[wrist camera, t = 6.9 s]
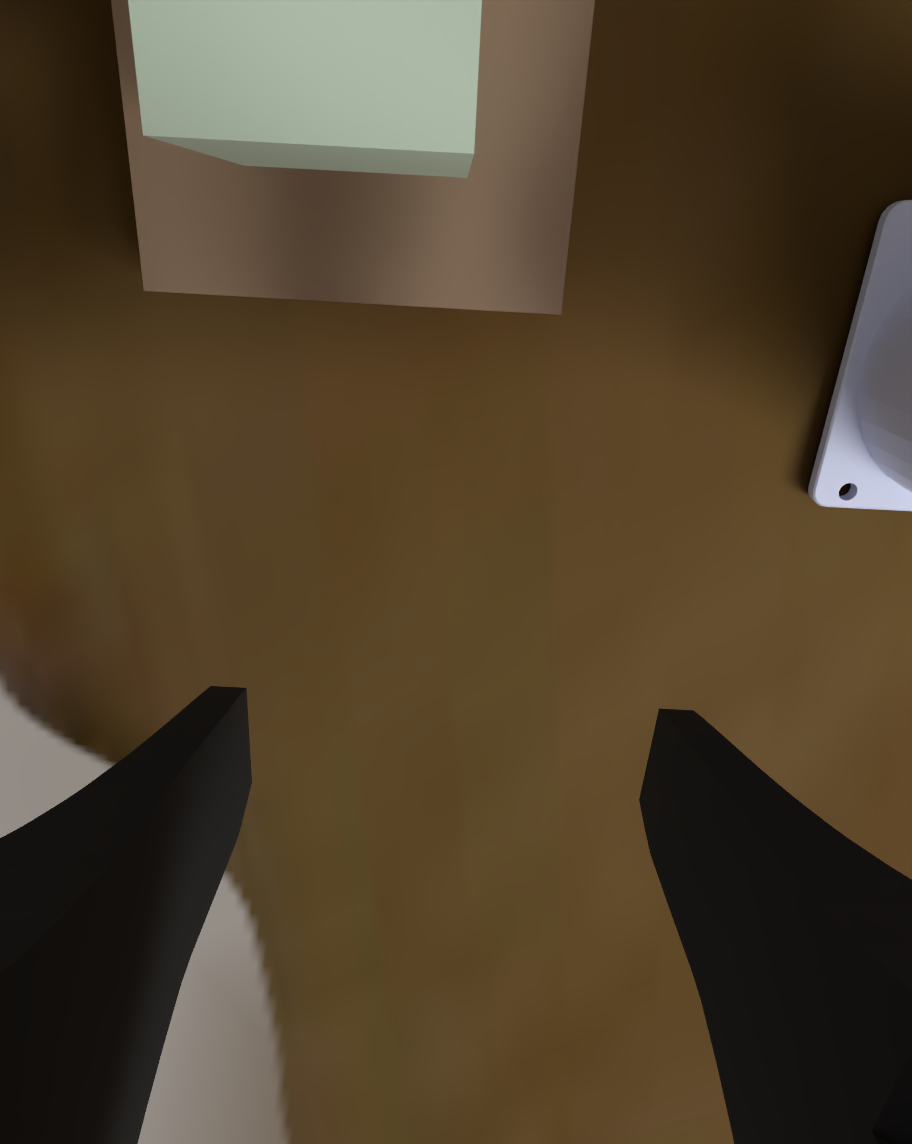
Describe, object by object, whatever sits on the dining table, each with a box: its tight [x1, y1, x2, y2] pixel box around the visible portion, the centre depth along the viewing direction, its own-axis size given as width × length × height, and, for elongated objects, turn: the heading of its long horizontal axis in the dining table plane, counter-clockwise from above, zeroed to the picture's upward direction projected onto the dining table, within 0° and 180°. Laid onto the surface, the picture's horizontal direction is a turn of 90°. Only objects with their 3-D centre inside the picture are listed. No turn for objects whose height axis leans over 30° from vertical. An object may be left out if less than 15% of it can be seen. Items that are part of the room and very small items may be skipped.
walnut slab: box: [111, 0, 595, 315], centre depth 17 cm, size 10×10×2 cm
